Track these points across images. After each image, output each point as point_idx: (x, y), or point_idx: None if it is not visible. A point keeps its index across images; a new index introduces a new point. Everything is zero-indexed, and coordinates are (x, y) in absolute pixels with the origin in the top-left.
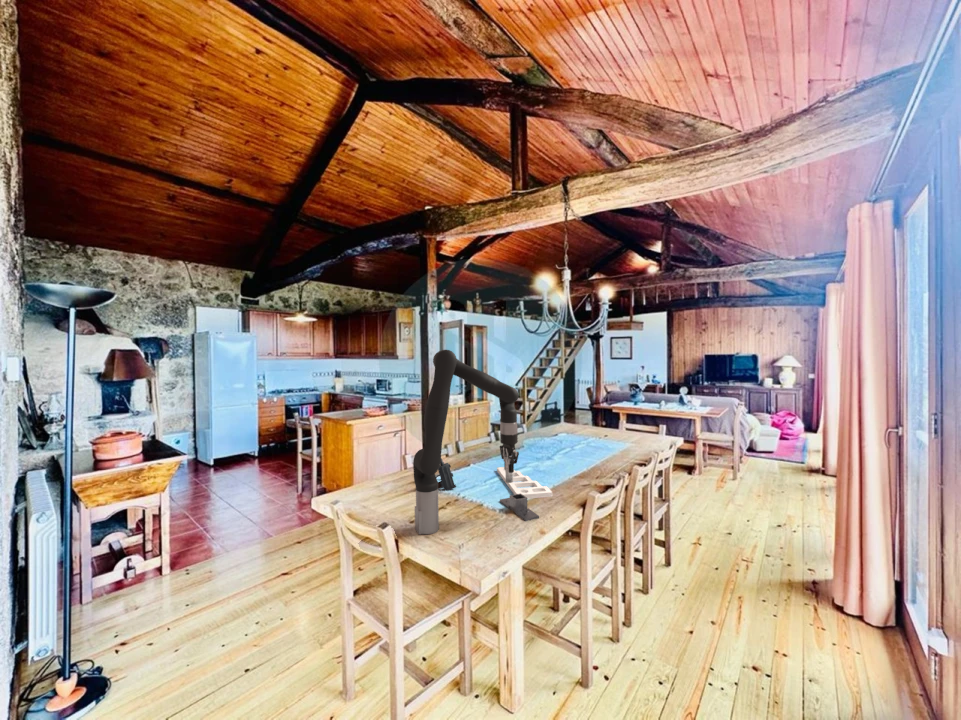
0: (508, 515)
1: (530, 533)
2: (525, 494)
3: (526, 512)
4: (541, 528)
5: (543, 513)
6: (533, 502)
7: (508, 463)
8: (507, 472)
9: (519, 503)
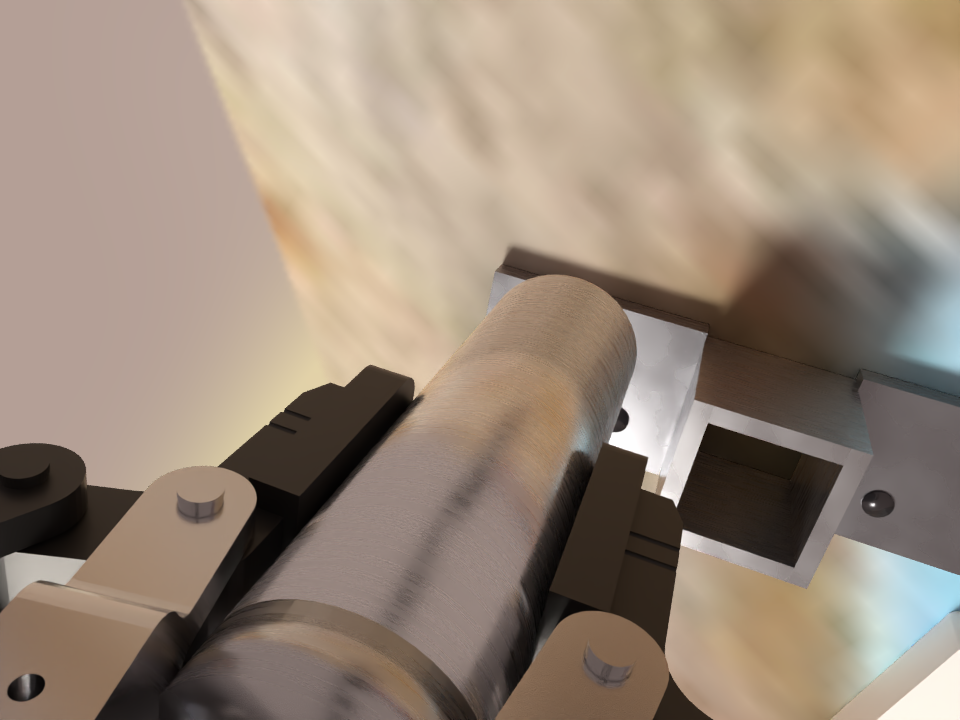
0: (723, 234)
1: (291, 114)
2: (903, 698)
3: None
4: (316, 262)
5: None
6: (762, 632)
7: (310, 523)
8: (460, 368)
9: (683, 419)
